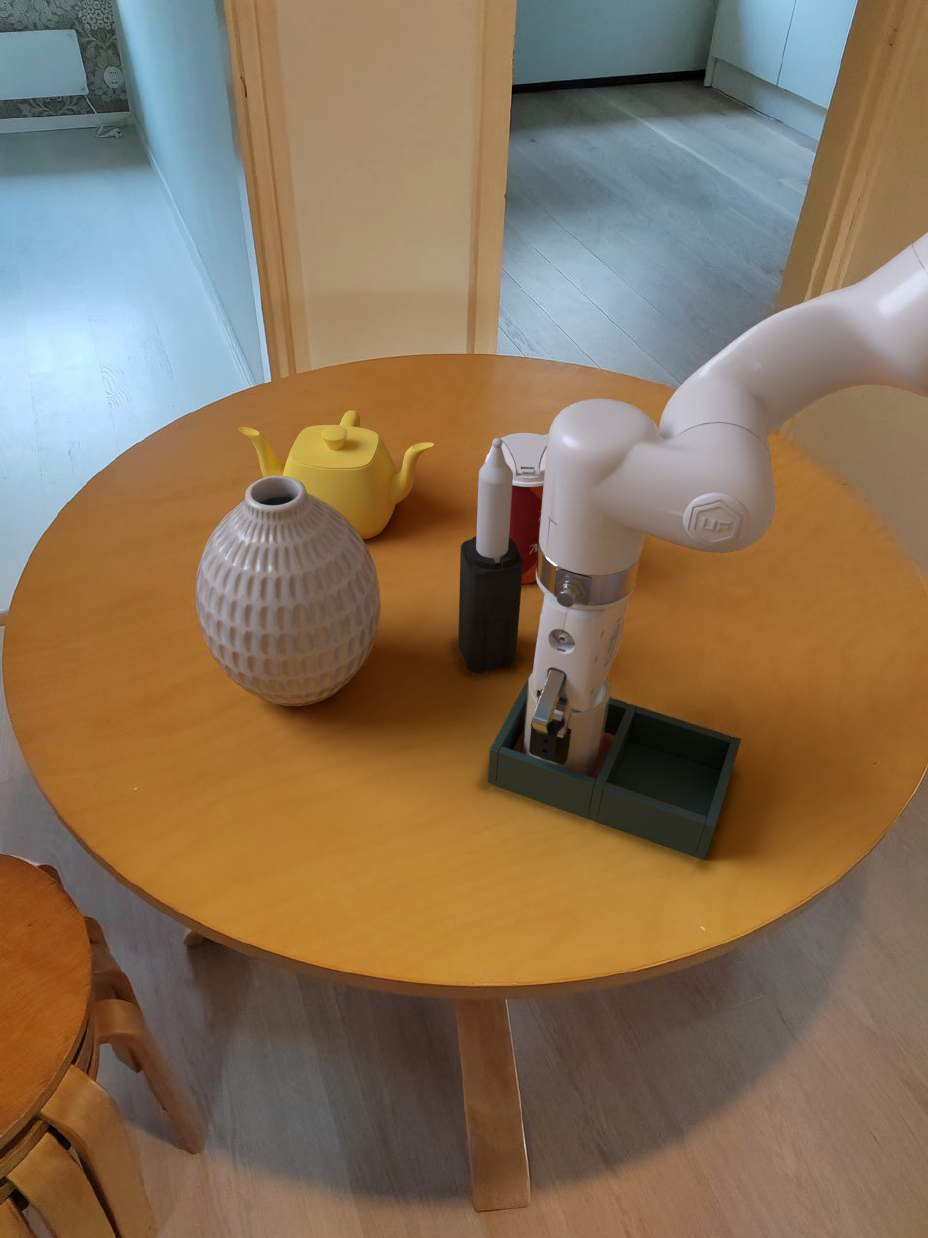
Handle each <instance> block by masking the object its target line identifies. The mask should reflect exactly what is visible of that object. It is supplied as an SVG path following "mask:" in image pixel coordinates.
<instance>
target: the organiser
mask: <svg viewBox="0 0 928 1238" xmlns="http://www.w3.org/2000/svg"><path fill="white" fill-rule="evenodd" d="M532 672H533V671H531V672H530V674H529V676H528V677H527V679H526V681H525V683H524V685H523V686H522V689H521V690H520V692H519V694H518V696H517V697H516V700H515V702H514V703H513V705H512V708H510V711H509V712H508V714H507V717H506V718H505V720H504V722H503V723H502V726H501V728H500V729H499V731H498V733H497V735H496V737H495V739H494V740H493V743H492V744H491V746H490V748H489V754H488V755H489V757H488V773H487V774H488V775H487V784H489V785H493V786H495V787H497V788H501V789H503V790H505V791H508V792H512V793H515V794H518V795H520V796H523V797H526V798H528V799H532V800H534V801H537V802H540V803H543V804H546V805H549V806H551V807H554V808H557V809H560V810H563V811H565V812H568V813H571V814H574V815H576V816H579V817H581V818H585V819H587V820H591V821H593V822H596V823H599V824H601V825H605V826H607V827H610V828H613V829H616V830H619V831H622V832H625V833H627V834H630V835H633V836H636V837H638V838H641V839H644V840H647V841H648V842H649V841H650V842H652V843H655V844H658V845H661V846H663V847H665V848H669V849H672V850H674V851H678V852H681V853H683V854H686V855H689V856H691V857H695V858H697V859H700V860H703V861H705V860H706V857H707V855H708V852H709V848H710V845H711V842H712V839H713V836H714V832H715V830H716V827H717V823H718V819H719V816H720V814H721V813H720V812H721V809H722V806H723V803H724V801H725V800H724V799H725V796H726V793H727V789H728V786H729V782H730V779H731V775H732V773H733V769H734V765H735V762H736V759H737V755H738V752H739V748H740V745H741V742H742V739H741V738H739V737H737V736H734V735H730V734H727V733H723V732H722V731H721V732H720V731H717V730H714V729H711V728H708V727H704V726H701V725H698V724H695V723H692V722H689V721H686V720H682V719H679V718H676V717H673V716H670V715H667V714H664V713H660V712H658V711H654V710H651V709H648V708H645V707H643V706H638V705H636V704H633V703H628V702H626V701H624V700H619V699H616V698H613V697H611V696H610V701H609V706H608V712H607V718H606V723H605V729H604V735H603V740H602V746H601V752H600V757H599V760H598V764H597V767H596V769H595V770H594V772H593V773H592V774H591V775H590V776H587V775H584V774H581V773H578V772H575V771H572V770H569V769H566V768H563V767H561V766H558V765H555V764H552V763H549V762H546V761H543V760H540V759H537V758H534V757H532V756H529V755H526V754H523V753H522V752H523V734H524V723H525V713H526V702H527V691H528V680H529V677H530V675H531V674H532Z"/></svg>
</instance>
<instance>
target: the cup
mask: <svg viewBox="0 0 928 1238" xmlns="http://www.w3.org/2000/svg"><path fill="white" fill-rule="evenodd" d="M531 672H532V674H531V673H530V674H531V675H530V674H529V676H530V677H529V676H528V677H529V680H528V691H527V702H526V713H525V723H524V734H523V752H522V753H523V754H526V755H529V756H532V757H534V758H537V759H540V760H543V761H546V762H549V763H552V764H555V765H558V766H561V767H563V768H566V769H569V770H572V771H575V772H578V773H581V774H584V775H587V776H590V775H591V774H592V773H593V772H594V770H595V769H596V767H597V764H598V760H599V757H600V752H601V746H602V740H603V735H604V729H605V723H606V718H607V712H608V706H609V701H610V697H611V693H612V691H611V683H610V679H609V678H608V676H607V677H606V679H605V681H604V683H603V685H602V688H601V690H600V692H599V694H598V696H597V698H596V700H595V702H594V704H593V706H592V707H591V708H590V709H589V710H587V711H585V712H581V711H578V710H574V709H573V712H572V715H571V719H570V722H569V726H568V728H569V729H572V730H571V737H570V745H569V752H568V759H567V761H566V763H565V764H564V765H562V764H558V763H555V762H552V761H548V760H545V759H542V758H540V757H538V756H535V755H532V754H531V753H530V752H529V745H530V734H531V721H532V717H533V714H534V712H535V708H536V705H537V701H538V698H539V697H536V695H535V694H534V692H533V687H532V680H533V671H531ZM561 695H564V696H567V695H566V692H565V686H563V689H562V692H561ZM564 708H565V705H561V704H558V703H557V705H556V708H555V711H554V714H553V719H556V720H559V721H561V718H562V715H563V712H564Z"/></svg>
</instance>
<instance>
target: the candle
mask: <svg viewBox="0 0 928 1238" xmlns="http://www.w3.org/2000/svg"><path fill="white" fill-rule="evenodd" d="M500 438H501V437H495V438H494V439H493V440H492V445H493V449H492V451H491V453H490V456H489V458H488V461H487V462H486V463H485V462H484V464H483V465H482V466H481V467H480V469H479V471H478V485H477V486H478V487H477V488H478V489H477V511H476V512H477V514H476V517H477V519H476V535H475V536H473V537H472V538H470V539H467V540H464V542H462V544H461V545H460V553H459V556H460V557H459V593H458V594H459V596H458V597H459V598H458V599H459V601H458V641H457V643H458V644H457V647H458V649H459V653H460V654H461V655H460V656H461V658H462V660H463V662H464V665H465V667H466V669H467V670H468V671H469V672H472V673H475V674H481V673H483V672H484V671H489V670H495V669H500V668H505V669H507V668H510V667H512V666H514V665H515V663H516V659H517V649H518V648H517V647H518V636H519V635H518V633H519V622H520V611H521V610H520V608H521V597H522V596H521V595H522V585H523V584H522V574H523V559H522V557H521V555H520V553H519V551H518V549H517V545H516V543H515V542H514V541H513V540H512V539H511V538H510V537H509V528H510V513H511V498H512V482H513V472H512V470H511V468H510V467H509V465H508V464H507V463H506V461H505V458H504V454H503V451H502V447H501V446H502V444H503V442H502V440H501V439H500Z"/></svg>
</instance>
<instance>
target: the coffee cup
mask: <svg viewBox="0 0 928 1238" xmlns="http://www.w3.org/2000/svg"><path fill="white" fill-rule="evenodd" d="M499 438H500V439H501V440H502V442H503V444H502V446H501V447H502V451H503V454H504V458H505V461H506V463H507V464H508V465H509V467H510V468H511V470H512V472H513V482H512V498H511V513H510V528H509V537H510V538H511V539H512V540H513V541H514V542H515V543H516V545H517V549H518V551H519V553H520V555H521V557H522V559H523V574H522V585H527V584H531V583H534V582H537V580H536V567H537V556H538V545H539V533H540V522H541V510H542V498H543V486H544V475H545V464H546V452H547V442H548V438H547V437H545V436H543V435H542V434H538V433H533V432H515V433H511V434H508V435H505V436H502V437H499ZM492 449H493V444H492V445H491V447H490V450H489V452H488V453H487V455H486V456H485V461H484V464H485V463H486V462H487V461H488V458H489V456H490V453H491V451H492Z"/></svg>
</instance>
